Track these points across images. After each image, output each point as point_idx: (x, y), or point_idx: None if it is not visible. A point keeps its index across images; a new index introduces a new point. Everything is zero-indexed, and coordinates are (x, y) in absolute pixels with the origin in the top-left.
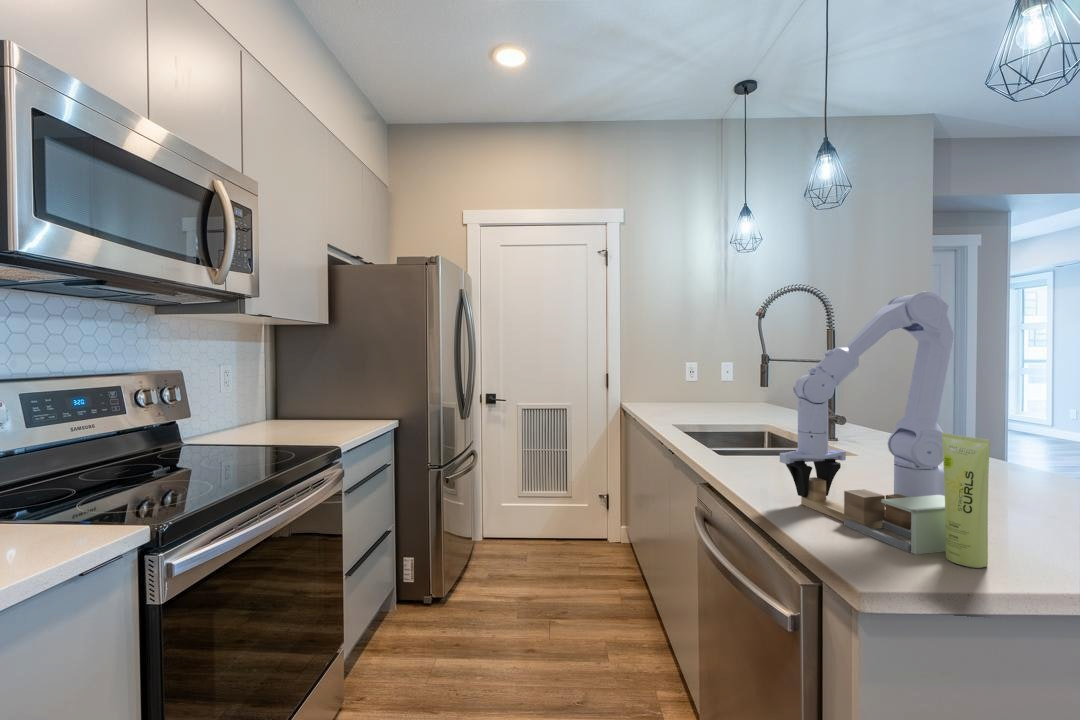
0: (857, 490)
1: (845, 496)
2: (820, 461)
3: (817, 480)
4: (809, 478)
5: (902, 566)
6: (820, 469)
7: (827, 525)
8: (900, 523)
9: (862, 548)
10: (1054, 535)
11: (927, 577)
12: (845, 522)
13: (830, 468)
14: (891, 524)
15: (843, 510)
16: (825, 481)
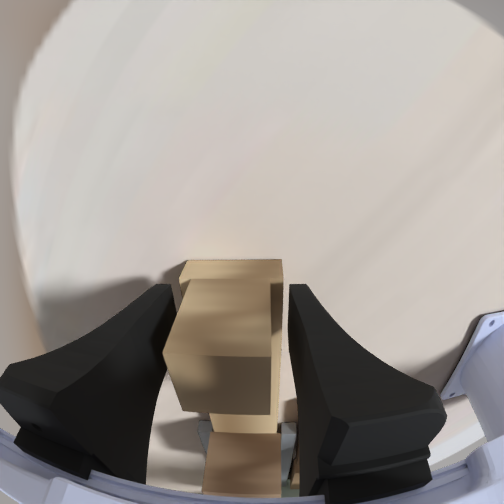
0: (247, 495)
1: (204, 478)
2: (315, 478)
3: (222, 404)
4: (201, 368)
5: (177, 482)
6: (309, 416)
7: (157, 410)
8: (297, 464)
9: (160, 460)
10: (477, 436)
11: (185, 490)
12: (199, 429)
13: (300, 481)
14: (285, 456)
15: (233, 418)
16: (266, 411)
